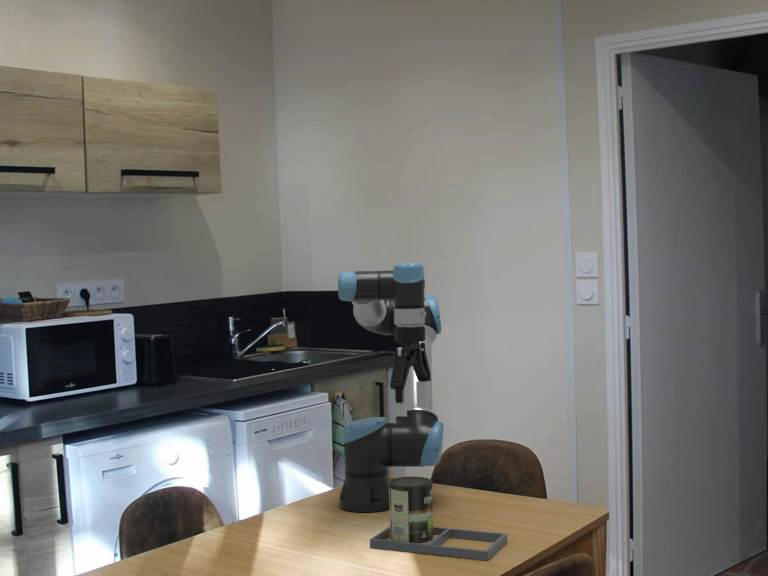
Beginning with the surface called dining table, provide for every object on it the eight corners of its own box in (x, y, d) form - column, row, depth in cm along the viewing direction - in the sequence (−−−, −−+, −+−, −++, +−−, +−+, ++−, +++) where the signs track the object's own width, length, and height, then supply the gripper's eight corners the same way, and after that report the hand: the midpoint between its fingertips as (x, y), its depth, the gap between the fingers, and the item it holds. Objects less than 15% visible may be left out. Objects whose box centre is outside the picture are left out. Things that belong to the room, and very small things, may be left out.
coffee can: (436, 535, 234) (435, 476, 234) (429, 548, 224) (428, 486, 224) (394, 533, 236) (392, 475, 236) (385, 546, 226) (384, 485, 226)
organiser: (395, 530, 240) (395, 522, 240) (507, 542, 228) (507, 533, 228) (370, 547, 226) (369, 539, 226) (487, 560, 215) (487, 551, 215)
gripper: (404, 329, 228) (406, 420, 229) (442, 321, 251) (444, 404, 252) (374, 329, 231) (377, 419, 232) (415, 321, 254) (417, 403, 255)
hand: (411, 411), depth 242 cm, fingers open, 13 cm apart
